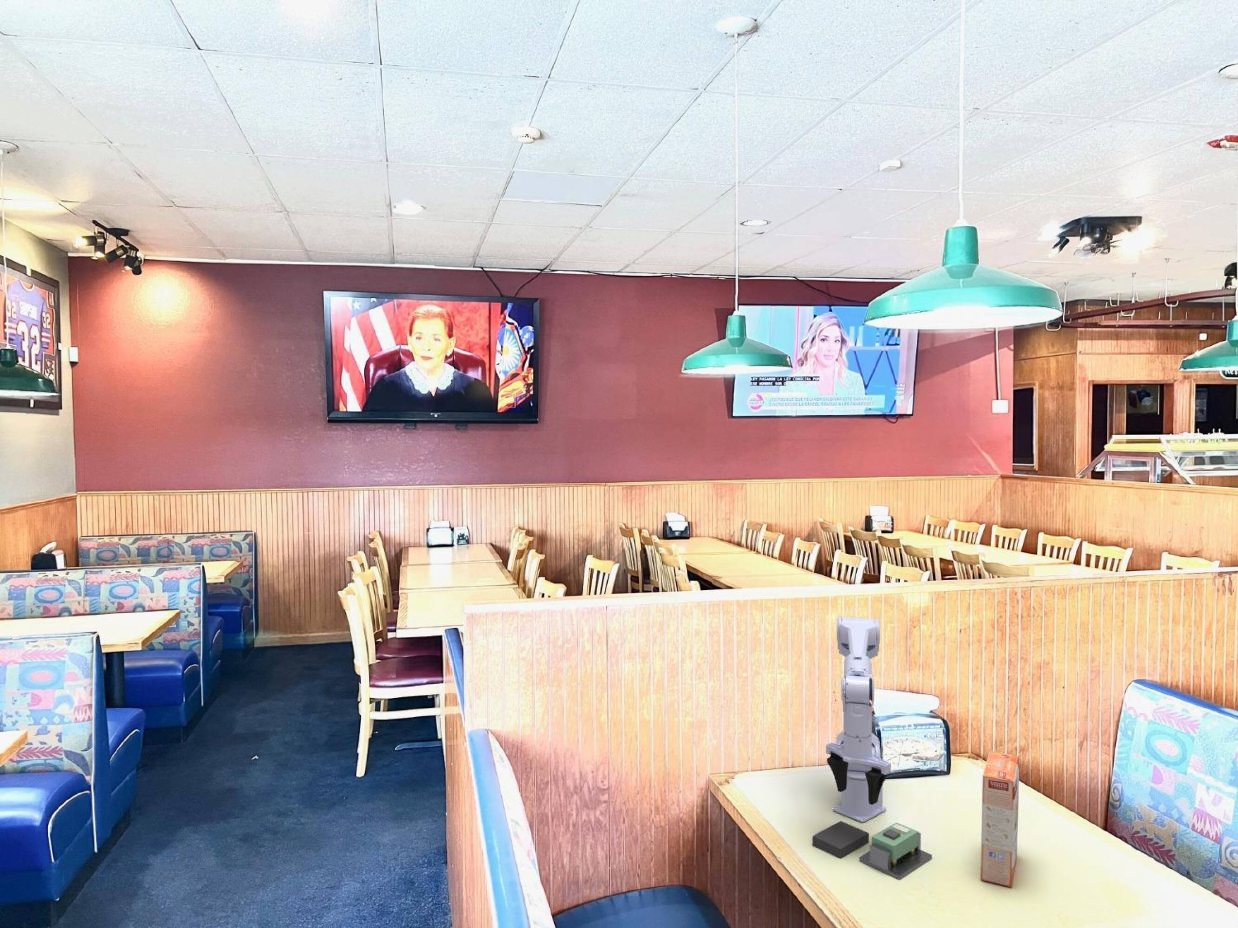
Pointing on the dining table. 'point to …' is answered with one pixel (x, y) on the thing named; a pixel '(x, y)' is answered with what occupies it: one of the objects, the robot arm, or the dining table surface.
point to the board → (896, 840)
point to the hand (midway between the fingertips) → (857, 796)
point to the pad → (840, 839)
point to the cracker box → (999, 818)
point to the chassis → (899, 867)
